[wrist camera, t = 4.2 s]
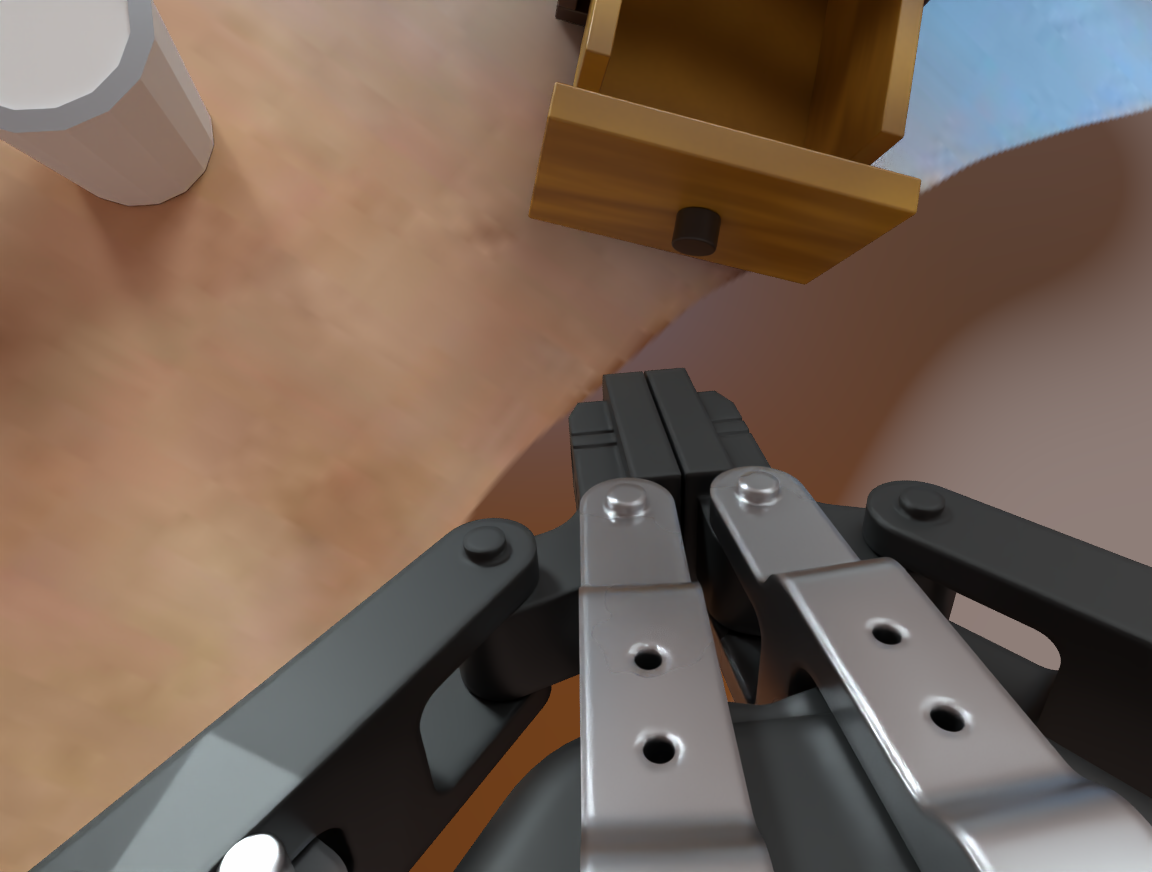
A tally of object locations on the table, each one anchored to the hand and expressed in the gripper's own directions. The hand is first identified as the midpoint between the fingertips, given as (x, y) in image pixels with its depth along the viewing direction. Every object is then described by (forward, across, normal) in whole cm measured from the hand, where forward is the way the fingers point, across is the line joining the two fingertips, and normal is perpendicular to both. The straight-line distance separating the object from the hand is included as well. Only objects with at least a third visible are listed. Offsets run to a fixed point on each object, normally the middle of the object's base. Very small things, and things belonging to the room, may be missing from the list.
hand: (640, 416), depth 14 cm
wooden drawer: (+21, -6, -3) cm, 22 cm away
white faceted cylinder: (+20, +16, -3) cm, 26 cm away
